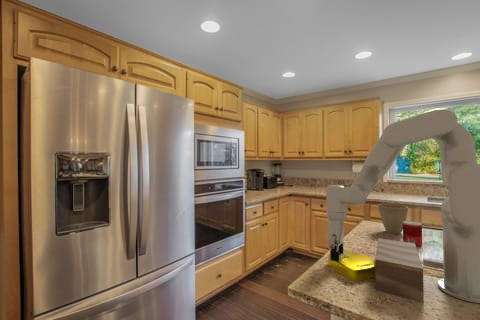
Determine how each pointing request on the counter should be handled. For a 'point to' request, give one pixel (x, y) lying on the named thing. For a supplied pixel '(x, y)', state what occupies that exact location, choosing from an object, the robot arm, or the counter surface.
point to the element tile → (354, 266)
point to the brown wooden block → (399, 269)
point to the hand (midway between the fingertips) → (337, 256)
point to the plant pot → (393, 217)
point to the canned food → (412, 232)
